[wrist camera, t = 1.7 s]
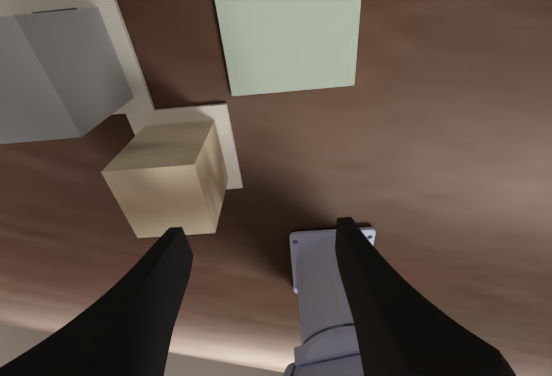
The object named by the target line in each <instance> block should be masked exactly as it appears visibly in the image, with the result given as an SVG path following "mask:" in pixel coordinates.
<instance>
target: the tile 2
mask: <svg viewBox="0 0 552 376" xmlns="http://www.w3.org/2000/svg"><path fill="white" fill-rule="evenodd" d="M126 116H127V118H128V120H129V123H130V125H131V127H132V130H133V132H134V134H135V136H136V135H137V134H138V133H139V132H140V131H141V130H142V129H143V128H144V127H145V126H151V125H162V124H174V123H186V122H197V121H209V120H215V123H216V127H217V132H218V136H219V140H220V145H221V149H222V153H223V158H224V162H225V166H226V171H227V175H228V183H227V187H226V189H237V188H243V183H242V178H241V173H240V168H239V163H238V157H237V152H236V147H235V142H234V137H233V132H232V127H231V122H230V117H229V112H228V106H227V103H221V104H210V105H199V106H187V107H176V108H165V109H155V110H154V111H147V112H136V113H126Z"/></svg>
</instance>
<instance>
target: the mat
mask: <svg viewBox="0 0 552 376" xmlns="http://www.w3.org/2000/svg"><path fill="white" fill-rule="evenodd" d="M215 5H216V10H217V16H218V21H219V27H220V32H221V38H222V43H223V49H224V54H225V60H226V65H227V71H228V76H229V82H230V87H231V93H232V96H242V95H253V94H264V93H275V92H286V91H297V90H308V89H319V88H330V87H341V86H352V85H354V82H355V69H356V56H357V44H358V31H359V19H360V6H361V0H215Z"/></svg>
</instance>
